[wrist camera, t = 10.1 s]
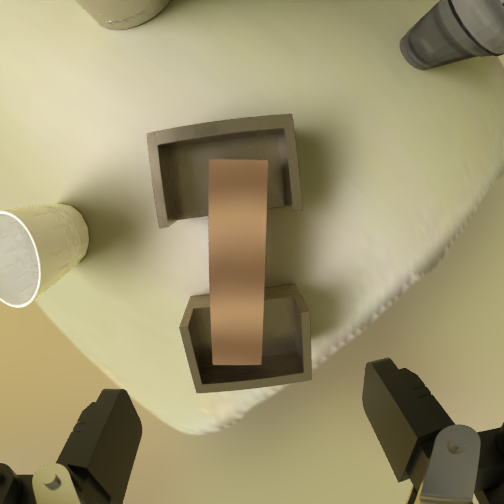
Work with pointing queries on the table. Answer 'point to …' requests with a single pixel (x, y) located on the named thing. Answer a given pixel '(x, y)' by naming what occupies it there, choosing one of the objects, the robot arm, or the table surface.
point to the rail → (237, 259)
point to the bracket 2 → (273, 344)
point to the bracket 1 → (221, 147)
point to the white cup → (38, 249)
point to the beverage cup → (455, 33)
